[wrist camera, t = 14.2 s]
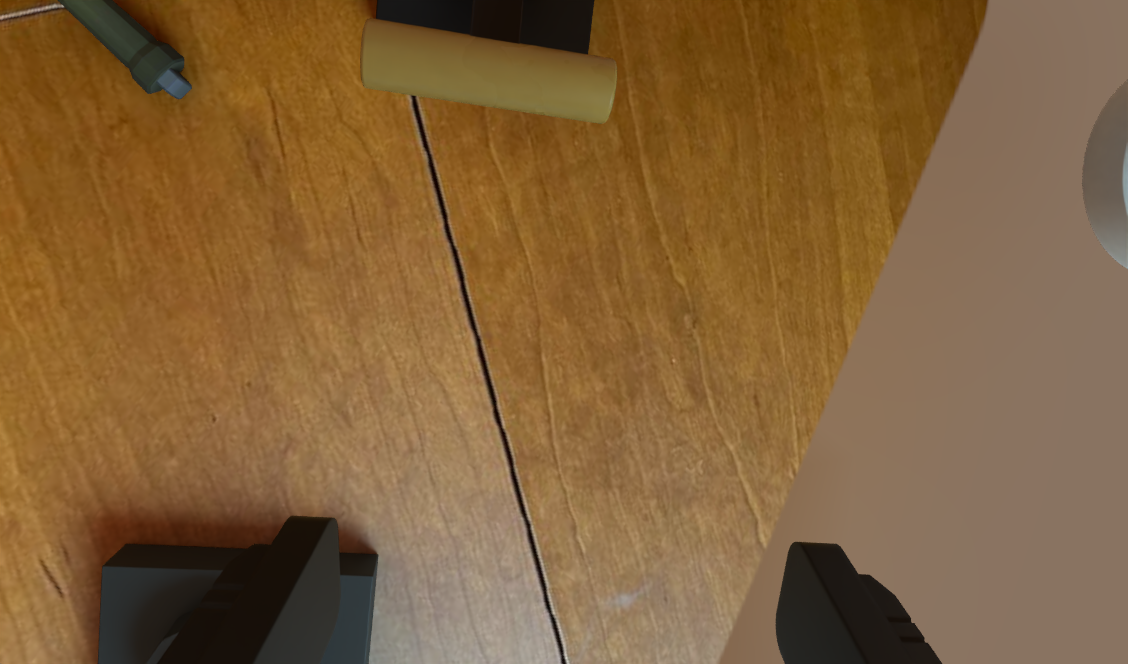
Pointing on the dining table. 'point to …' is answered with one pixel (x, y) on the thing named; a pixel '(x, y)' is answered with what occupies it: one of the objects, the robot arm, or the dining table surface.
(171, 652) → the robot arm
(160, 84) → the knife
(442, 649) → the dining table surface
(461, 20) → the latch bracket
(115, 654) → the block
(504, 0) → the lever
